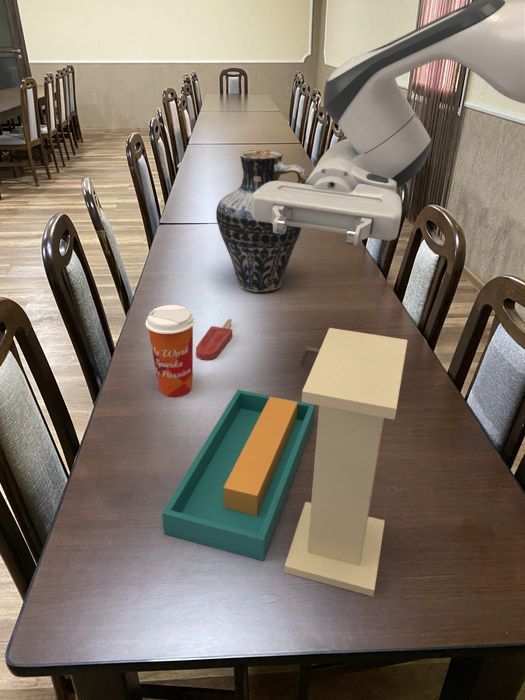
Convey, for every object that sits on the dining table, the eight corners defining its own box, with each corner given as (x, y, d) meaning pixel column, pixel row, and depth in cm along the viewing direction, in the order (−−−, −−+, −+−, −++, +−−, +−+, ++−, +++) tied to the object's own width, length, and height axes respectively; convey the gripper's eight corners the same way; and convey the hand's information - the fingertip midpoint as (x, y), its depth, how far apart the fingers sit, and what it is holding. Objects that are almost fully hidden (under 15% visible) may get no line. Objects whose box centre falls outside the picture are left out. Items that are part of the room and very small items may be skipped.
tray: (237, 407, 87) (237, 389, 85) (313, 422, 84) (315, 404, 82) (164, 534, 65) (161, 513, 63) (263, 561, 62) (263, 540, 60)
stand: (306, 502, 70) (319, 326, 56) (384, 520, 67) (417, 341, 54) (281, 579, 60) (290, 388, 46) (372, 605, 57) (409, 411, 44)
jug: (206, 294, 123) (199, 158, 108) (234, 264, 139) (232, 142, 124) (293, 307, 118) (300, 166, 102) (312, 274, 134) (320, 148, 118)
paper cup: (146, 398, 89) (137, 323, 81) (160, 373, 95) (153, 301, 88) (193, 403, 88) (188, 327, 80) (203, 377, 94) (200, 305, 87)
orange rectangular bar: (269, 415, 84) (269, 396, 82) (296, 420, 83) (297, 401, 81) (224, 508, 68) (223, 487, 66) (257, 516, 67) (257, 495, 65)
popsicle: (240, 317, 110) (214, 354, 98) (240, 324, 111) (214, 362, 99) (220, 314, 111) (191, 351, 99) (220, 321, 112) (191, 358, 100)
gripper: (265, 163, 78) (236, 198, 68) (408, 182, 74) (400, 221, 63) (264, 205, 82) (235, 244, 71) (399, 224, 78) (390, 268, 67)
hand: (314, 233), depth 67 cm, fingers open, 8 cm apart
